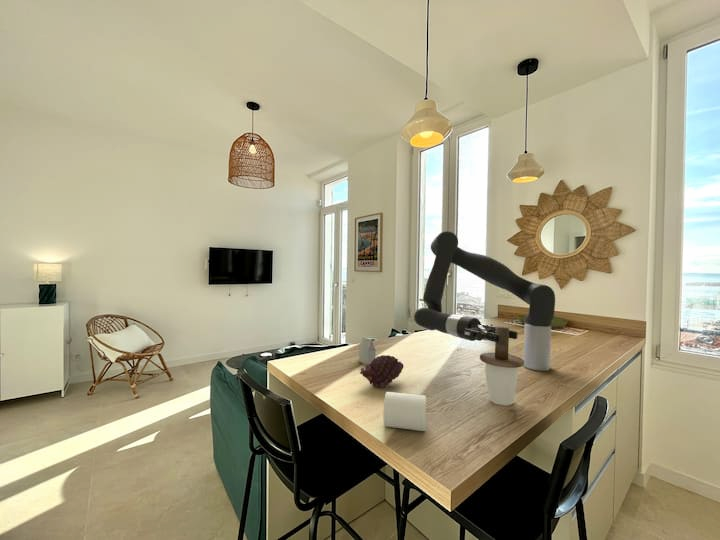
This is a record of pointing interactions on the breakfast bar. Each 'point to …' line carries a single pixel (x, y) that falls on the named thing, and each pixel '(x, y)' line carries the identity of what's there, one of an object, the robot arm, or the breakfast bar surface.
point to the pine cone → (382, 370)
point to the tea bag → (366, 351)
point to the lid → (502, 352)
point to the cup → (501, 384)
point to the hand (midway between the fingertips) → (508, 337)
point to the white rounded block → (405, 411)
